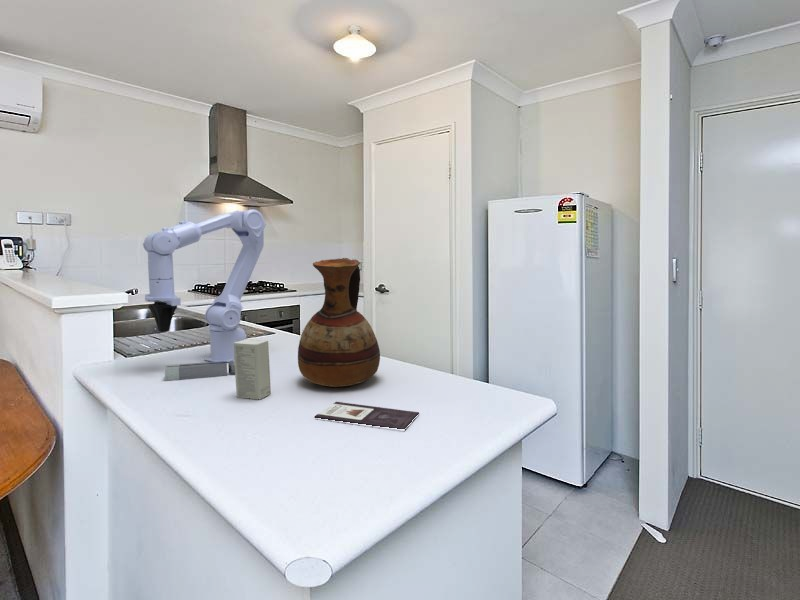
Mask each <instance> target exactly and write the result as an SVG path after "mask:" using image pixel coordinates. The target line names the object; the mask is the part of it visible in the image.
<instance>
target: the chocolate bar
mask: <svg viewBox="0 0 800 600" xmlns="http://www.w3.org/2000/svg"><path fill="white" fill-rule="evenodd" d="M418 414H419V415H420V412H419V411H410V410H403V409H397V408H396V409H395V408H387V407H380V406H373V405H366V404H364V405H363V404H357V403H350V402H343V401H335V402H333V403H332V404H330V405H329V406H328V407H326V408H324V409H323V410H321V411H320V412H318V413H317V414H316V415H314V417H313V419H314V418H321V419H328V420H335V421H343V422H350V423H358V424H366V425H372V426H380V427H389V428H397V429H405V428H406V427H407V426H408V425H409V424H410V423H411V422H412V420H413V419H414V418H415V417H416V416H417V415H418ZM412 423H413V422H412Z"/></svg>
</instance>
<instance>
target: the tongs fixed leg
mask: <svg viewBox="0 0 800 600" xmlns="http://www.w3.org/2000/svg"><path fill="white" fill-rule="evenodd" d="M216 363H228V364H227V368H228V375H230V376H235V361H234V360H232V361H229V362H227V361H218V362H211V361H206V362H192V363H177V364H166V365H165V367H176V366H190V365H203V364H216Z"/></svg>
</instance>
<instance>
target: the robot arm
mask: <svg viewBox="0 0 800 600" xmlns="http://www.w3.org/2000/svg"><path fill="white" fill-rule="evenodd" d="M178 223H179V224H177V225H174V226H171V227H170V226H169V227H167V226H164V227H162V228H161V231H155V232H150V233H149V234H147V236H146V237H145V238H144V241H143V242H142V247H143V249H144V250H145V251H146V252H147V267H148V268H147V270H148V272H147V273H148V289H149V290H148V291H149V293H147V294H145V295H144V296H145V297H144V300H145V302H146V303H148V302H149V303H153V304H148V309H149V310H150V312H151V313H152V316H153V318H154V322H155V324H156V327H157V330H158V332H160V333H165V332H169V331H170V329H171V325H172V320H173V316H174V313H175V311H176V310H177V308H178V306H181V305H182V303H181V297H178V296H176V295H175V279H174V261H173V258H174V257H173V253H174V252H175V250H179V249H182V248H184V247H187V246H190V245H192V244H195V243H198V242H199V241H200V239H201V237H202V235H206V234H208V233H212V232H215V231H218V230H221V229H224V228H226V229H231V230H232V231H233V233H234V234H235V235H236V236H237V237H238V239H239V240H240V242H241V244H242V247H241V249H240V252H239V253H238V255H237V259H236V260H235V262H234V266H233V268H232V270H231V271H230V274H229V275H228V276H229V277H228V278H227V280H226V283H225V286H224V288H223V290H222V291H221V292H222V293H220V295H218V296H217V297H216V298H215V299H214V301H213V303H212V304H211V305H210V306H209V307H208V308H207V309H206V310H205V312H204V313H205V314H204V318H205V321H206V323H208V325H209V342H210V343H209V346H210V356H209V357H204V359H203V360H204V361H206V362H218V361H227V363H228V362H229V361H232V360H234V345H233V343H234V342H238V341H241V340H244V339H247V335H246V332H245V330H244V329H243V328H242V327H240V326H239V324H240V322H241V317H242V316H241V314H242V313H241V312H242V310H243V308H244V307H243V305H242V301H241V299H242V297H243V294H244V293H245V290H246V288H247V285H248V283H249V281H250V279H251V277H252V274H253V271H254V270H255V267H256V265H257V262H258V261H259V258H260V256H261V253H262V251H263V248H264V245H265V244H264V243H265V242H264V241H265V240H264V239H265V238H264V235H265V234H264V232H265V231H264V230H265V228H266V225H267V224H266V221H265V219H264V217H263V214H262V212H260V211H259V210H257V209H253V208H252V209H248V210H235V211H231V212H226V213H225V212H224V213H222V214H219V215H216V216H213V217H211V218H208V219H205V220H203V221H201V222H198V223H194V222H192V221H189V220H188V221H186V220H180V221H179V222H178Z"/></svg>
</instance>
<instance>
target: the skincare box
mask: <svg viewBox="0 0 800 600" xmlns="http://www.w3.org/2000/svg"><path fill="white" fill-rule="evenodd" d="M233 345H234V361H235V375H234V376H235V387H236V388H235V390H236V392H235V393H236V398H242V399H249V398H250V400H258V399H259V400H262V399H264V398H266V397H268V396H270V395H271V394H272V391H271V372H270V371H271V370H270V353H269V351H270V350H269V349H270V348H269V340H264V339H251V338H250V339H247V338H246V339H244V340H241V341H238V342H234V343H233Z"/></svg>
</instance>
